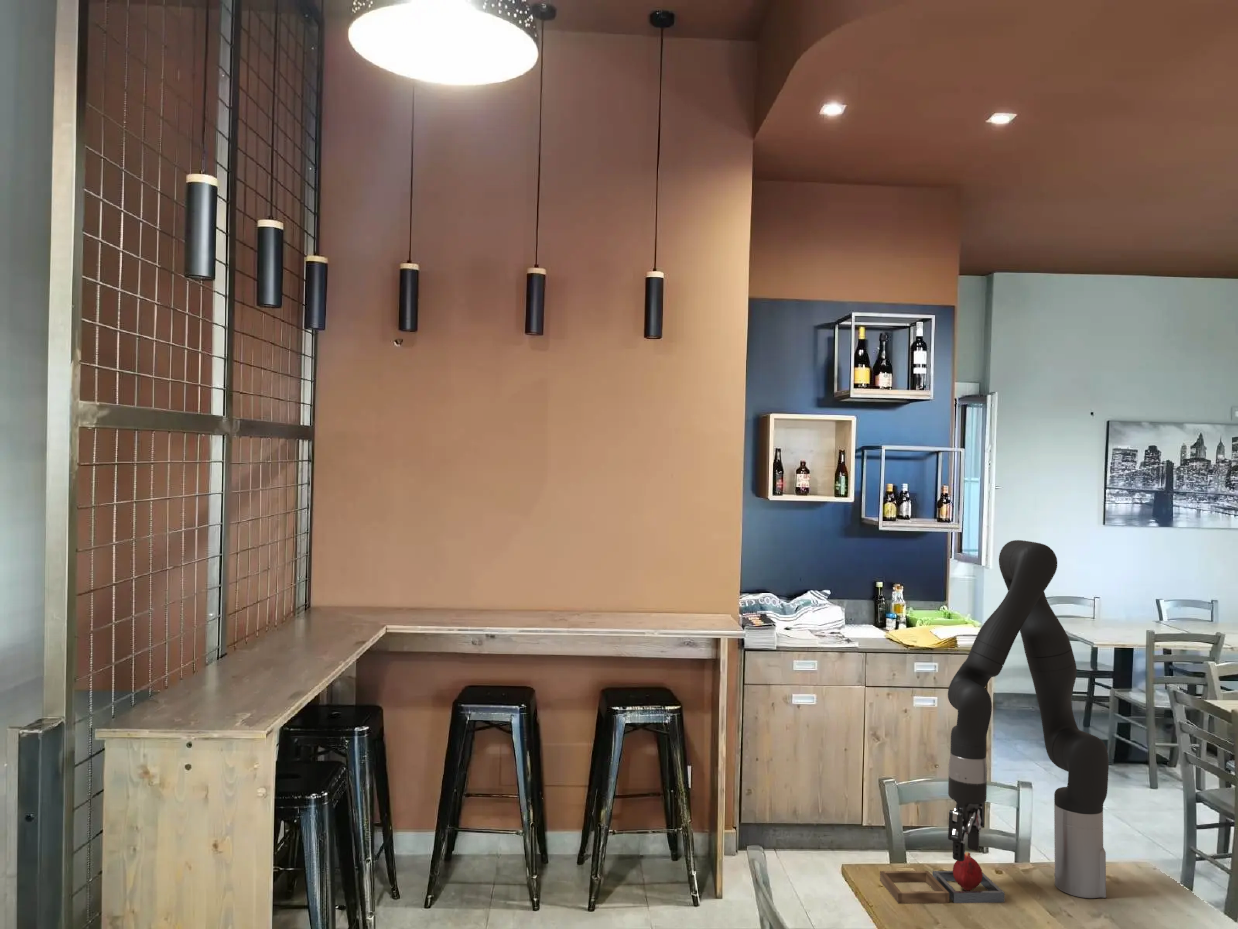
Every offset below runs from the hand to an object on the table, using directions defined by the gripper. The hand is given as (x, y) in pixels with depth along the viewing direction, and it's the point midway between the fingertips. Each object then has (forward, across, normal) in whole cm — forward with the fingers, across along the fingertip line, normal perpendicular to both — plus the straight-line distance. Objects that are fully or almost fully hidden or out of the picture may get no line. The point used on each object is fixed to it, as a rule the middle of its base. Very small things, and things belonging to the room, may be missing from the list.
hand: (966, 854), depth 183 cm
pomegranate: (+8, +1, 0) cm, 8 cm away
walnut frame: (+8, -8, +8) cm, 14 cm away
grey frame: (+8, +1, 0) cm, 8 cm away
